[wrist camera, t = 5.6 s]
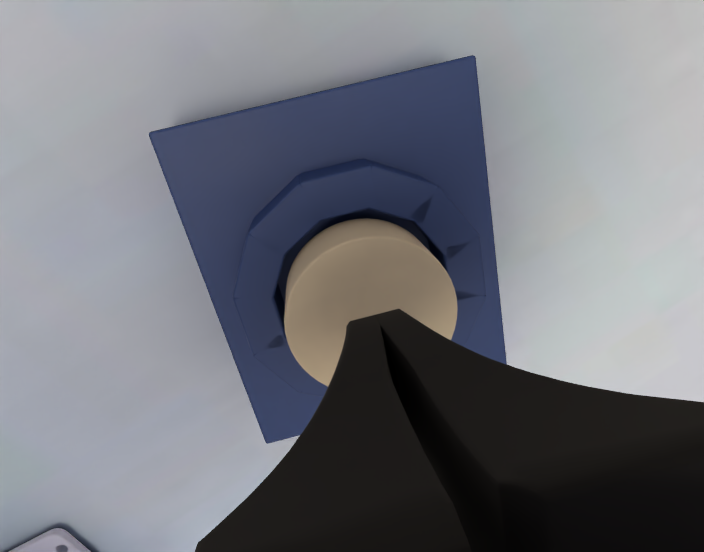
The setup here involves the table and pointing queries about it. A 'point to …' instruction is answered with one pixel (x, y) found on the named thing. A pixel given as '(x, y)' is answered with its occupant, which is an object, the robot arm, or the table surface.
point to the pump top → (360, 288)
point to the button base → (333, 209)
